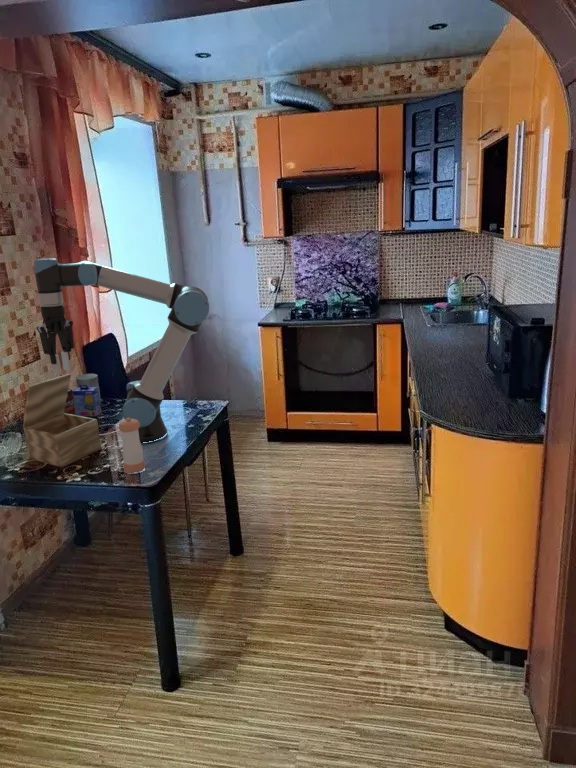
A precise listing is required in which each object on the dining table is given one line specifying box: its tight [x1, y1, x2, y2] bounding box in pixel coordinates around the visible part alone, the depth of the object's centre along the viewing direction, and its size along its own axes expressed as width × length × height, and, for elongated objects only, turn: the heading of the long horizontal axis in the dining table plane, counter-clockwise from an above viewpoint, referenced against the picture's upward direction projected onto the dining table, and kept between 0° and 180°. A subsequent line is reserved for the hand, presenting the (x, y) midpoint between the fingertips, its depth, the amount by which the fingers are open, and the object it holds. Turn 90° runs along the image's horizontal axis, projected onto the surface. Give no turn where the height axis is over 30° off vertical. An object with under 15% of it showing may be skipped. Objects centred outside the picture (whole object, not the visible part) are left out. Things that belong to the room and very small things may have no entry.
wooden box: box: [22, 413, 102, 468], centre depth 206 cm, size 18×18×12 cm
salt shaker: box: [118, 418, 146, 473], centre depth 188 cm, size 7×7×19 cm
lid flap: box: [22, 373, 72, 428], centre depth 204 cm, size 18×18×1 cm
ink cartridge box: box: [72, 385, 102, 417], centre depth 249 cm, size 10×6×14 cm, turn 88°
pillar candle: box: [75, 373, 102, 404], centre depth 264 cm, size 10×10×15 cm
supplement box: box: [56, 388, 76, 416], centre depth 233 cm, size 9×5×16 cm, turn 168°
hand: (62, 371), depth 196 cm, fingers open, 3 cm apart
